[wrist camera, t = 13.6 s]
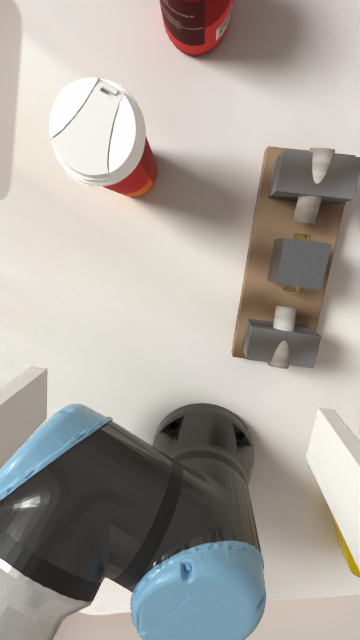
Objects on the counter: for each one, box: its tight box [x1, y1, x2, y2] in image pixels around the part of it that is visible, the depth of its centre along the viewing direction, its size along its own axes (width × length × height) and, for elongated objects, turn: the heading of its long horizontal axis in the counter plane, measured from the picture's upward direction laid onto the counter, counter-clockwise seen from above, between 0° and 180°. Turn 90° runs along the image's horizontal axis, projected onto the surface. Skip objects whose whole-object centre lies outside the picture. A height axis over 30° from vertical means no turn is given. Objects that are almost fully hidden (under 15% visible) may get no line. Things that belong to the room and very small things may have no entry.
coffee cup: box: [49, 77, 156, 197], centre depth 32 cm, size 8×8×15 cm
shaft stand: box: [232, 147, 360, 368], centre depth 37 cm, size 26×10×7 cm, turn 173°
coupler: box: [267, 233, 332, 293], centre depth 36 cm, size 7×5×5 cm
